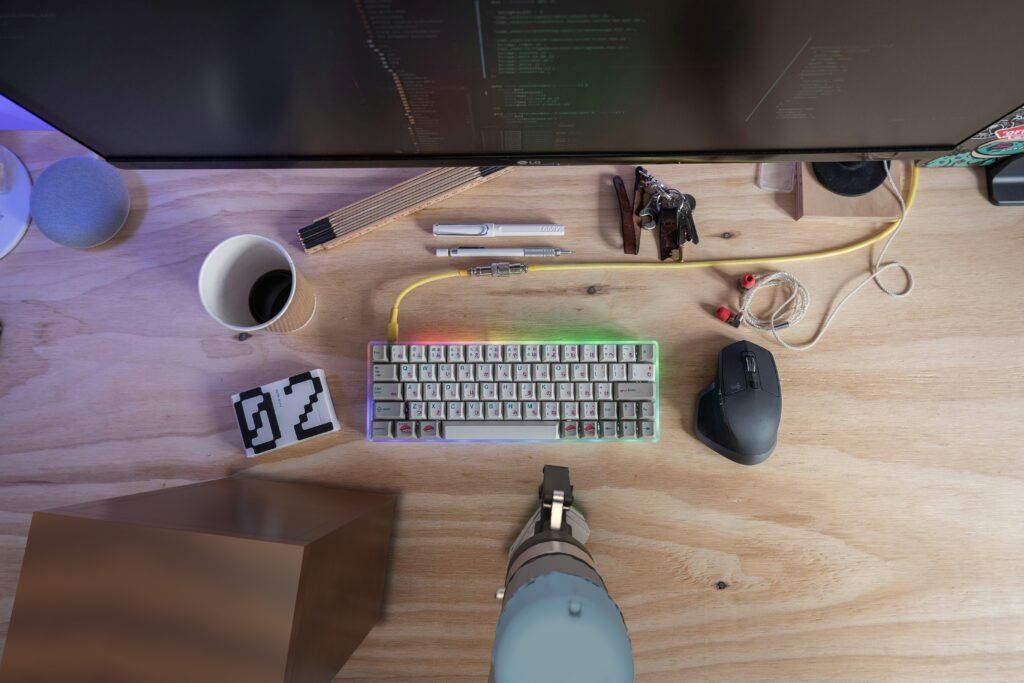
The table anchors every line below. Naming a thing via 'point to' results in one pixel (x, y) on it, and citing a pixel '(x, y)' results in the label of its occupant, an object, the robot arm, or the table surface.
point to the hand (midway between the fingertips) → (545, 536)
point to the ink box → (572, 518)
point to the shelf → (153, 603)
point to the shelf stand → (299, 516)
